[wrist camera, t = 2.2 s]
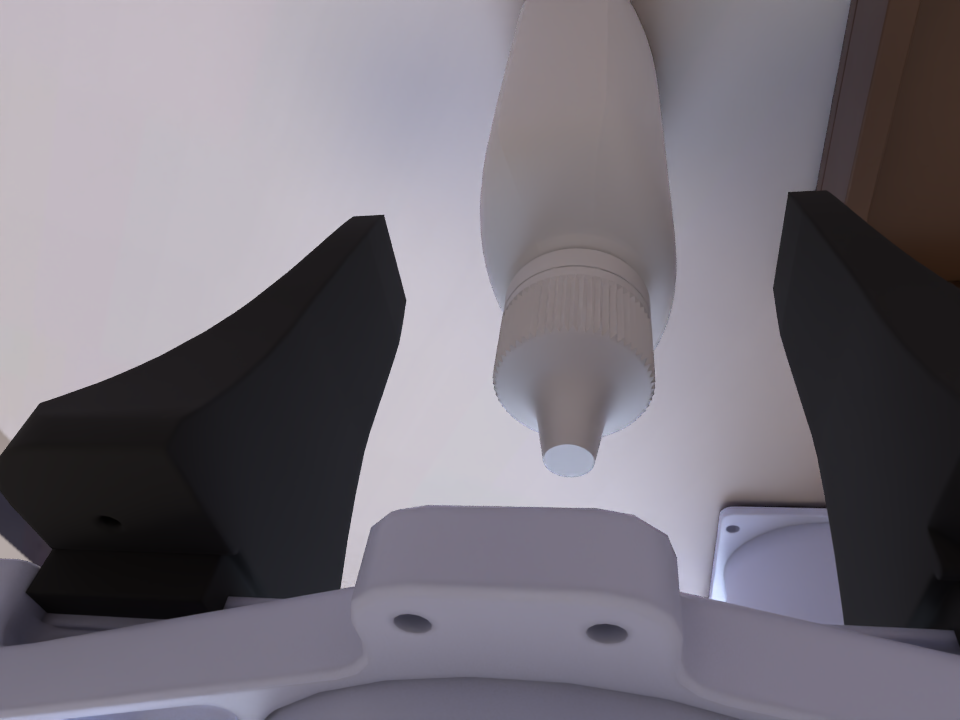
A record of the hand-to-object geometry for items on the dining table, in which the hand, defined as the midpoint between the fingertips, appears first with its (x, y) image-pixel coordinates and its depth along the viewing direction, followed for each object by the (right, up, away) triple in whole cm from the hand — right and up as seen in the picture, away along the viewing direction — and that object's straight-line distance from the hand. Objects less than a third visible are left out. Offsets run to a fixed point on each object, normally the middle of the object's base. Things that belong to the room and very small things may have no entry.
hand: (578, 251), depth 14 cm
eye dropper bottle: (+1, +5, +5) cm, 7 cm away
